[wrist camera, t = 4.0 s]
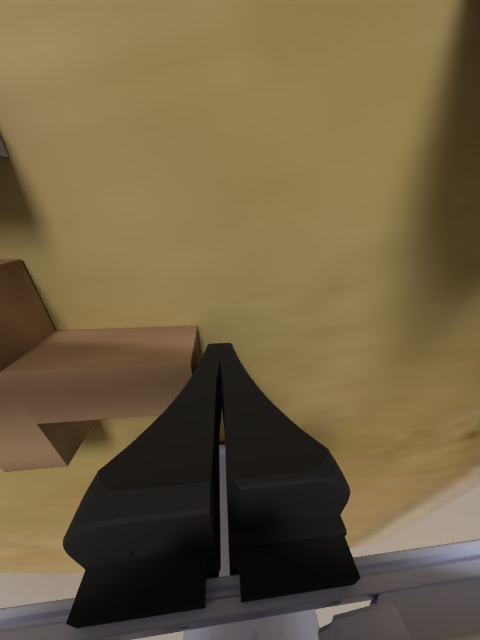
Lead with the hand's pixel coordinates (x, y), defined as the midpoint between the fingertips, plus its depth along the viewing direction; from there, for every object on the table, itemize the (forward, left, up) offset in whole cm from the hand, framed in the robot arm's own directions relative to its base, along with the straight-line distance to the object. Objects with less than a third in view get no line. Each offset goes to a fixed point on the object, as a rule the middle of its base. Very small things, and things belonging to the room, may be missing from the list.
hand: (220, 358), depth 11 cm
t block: (0, +6, -1) cm, 6 cm away
